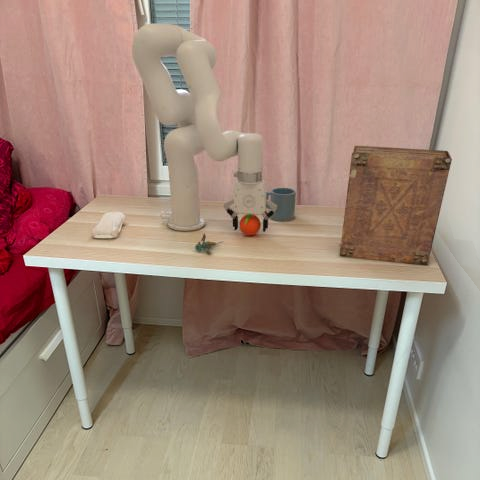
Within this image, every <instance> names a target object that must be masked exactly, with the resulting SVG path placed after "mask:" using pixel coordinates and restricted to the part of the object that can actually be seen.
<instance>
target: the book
mask: <svg viewBox="0 0 480 480" xmlns="http://www.w3.org/2000/svg"><path fill="white" fill-rule="evenodd" d="M452 161H453V159H452V156H451V154H450V152H449V151H448V150H440V149H439V150H437V149H425V148H424V149H422V148H408V147H407V148H406V147H391V146H390V147H388V146H387V147H386V146H373V145H371V146H370V145H354V147H353V151H352V152H351V157H350V165H349V175H348V183H347V190H346V200H345V207H344V216H343V225H342V233H341V240H340V241H341V242H340V249H339V256H340V257H345V258H346V257H347V258H354V259H363V260H365V259H366V260H375V261H382V262H383V261H384V262H392V263H393V262H394V263H403V264H411V265H422V266H428V265H429V261H430V256H431V252H432V247H433V243H434V238H435V234H436V230H437V226H438V225H437V224H438V221H439V217H440V213H441V208H442V203H443V200H444V196H445V191H446V186H447V182H448V178H449V173H450V168H451V166H452Z"/></svg>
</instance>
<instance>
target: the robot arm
mask: <svg viewBox="0 0 480 480" xmlns="http://www.w3.org/2000/svg"><path fill="white" fill-rule="evenodd" d="M131 55H132V59H133V63H134V65H135V67H136V70H137V72H138V75H139V76H140V78H141V81H142V82H143V86H144V88H145V91H146V95H147V96H148V98H149V101H150V105H151V106H152V109H153V112H154V114H155V116H156V118H157V121H159V123H160V124H161V125H164V126H173V125H177V128H174V129H172V130H170V131H169V132H168V133H167V134H166V136H165V138H164V141H163V149H164V154H165V159H166V162H167V169H168V180H169V191H170V192H169V193H170V207H171V210H170V211H160V214H159V215H160V217H161V219H162V220H168V221H167V226H168V228H169V229H171V230H175V231H180V232H191V231H196V230H199V229H201V228H203V227H204V226H205V219H203V218H202V217H201V212H200V211H201V210H200V209H201V208H200V192H199V191H200V188H199V187H200V186H199V171H198V166H197V163H196V160H195V156H198V155H200V154H202V153H204V152H206V154H207V155H208V157H209V158H210V159H211V160H213V161H215V162H224V161H226V160H228V159H231V158H234V157H237V171H234V172H233V177H234V178H235V177H236V178H237V179H236V180H235V184H234V191H233V198H232V199H230V200H228V201H226V202H224V204H223V207H224V209H225V211H226V214H228V215H229V216H230V217H231V219H232V228H234V229H233V230H234V231H237V230H238V229H239V215H247V214H254V215H256V216H257V215H259V216H260V215H261V216H262V217H263V220H262V232H264V233H265V232H266V231H267V229H268V228H269V219H271V218H270V217H271V216H272V215H273V214H274V212H275V210H276V209H277V205H276V204H274V203H272V202H271V200H269V199H268V200H267V199H266V191H267V188H266V187H267V186H266V181H265V180H264V179H263V177H264V176H263V172H264V138H263V136H262V135H261V133H260V134H259V133H256V132H255V133H254V132H252V133H251V132H248V133H247V132H246V133H245V132H240V131H237V130H226V131H224V132H223V131H222V128H221V126H220V123H219V119H218V105H219V102H220V99H221V96H222V90H221V88H220V85H219V83H218V81H217V78H216V76H215V74H214V71H213V69H214V68H215V66H216V64H217V59H218V57H217V55H218V54H217V51H216V48H215V47H214V45H213V44H212V43H211V42H210V41H208V40H207V39H205V38H204V37H201V36H199V35H197V34H195V33H193V32H192V31H190V30H187V29H185V28H184V27H182V26H180V25H177V24H173V23H154V22H153V23H147V24H144V25H143V26H141V27H140V28H139V29H137V31H136V33H135V34H134V36H133V39H132V45H131ZM166 57H167V58H168V57H173V58H175V59H176V62H177V65H178V67H179V70H180V72H181V75H182V77H183V79H184V81H185V84H186V86H187V89H188V91H187V90H185V89H177V88H176V86H175V84H174V82H173V78H172V76H171V74H170V72H169V70H168V68H167V67H166V66H165V64H164V63H163V62H162V58H166ZM232 205H233V209H232V208H231V206H232ZM266 205H268V206H269V207H271V208H272V209H271V211H270V210H269V211H267V208H266Z"/></svg>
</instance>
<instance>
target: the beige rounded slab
mask: <svg viewBox="0 0 480 480" xmlns="http://www.w3.org/2000/svg"><path fill="white" fill-rule="evenodd" d="M125 225H127V217H126V215H125V214H124V213H123V212H120V211H119V212H118V211H111V212H110V211H109V212H105V213H104V214H103V215H102V216H101V217H100V219H99V220H98V222H97V224H96V226H95V227H92V229H91V230H92V231H91V234H92V238H94V239H116V238H118V237H119V234H120V232H121V229H122V227H123V226H125Z"/></svg>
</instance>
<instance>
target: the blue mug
mask: <svg viewBox="0 0 480 480" xmlns="http://www.w3.org/2000/svg"><path fill="white" fill-rule="evenodd" d="M296 194H297V191H296V190H295V189H293V188H290V187H275V188H272V189H271V190H270V191H268V190H266V199H267V200H269V196H270V201H271V202H272V203H274V204H276V205H277V209H276V210H275V212H274V214H273V215H272V216H271V217H270V218H269V219H272V220H273V221H277V222H290V221H292V220H294V219H295V213H296V211H295V210H296V198H297V197H296V196H297V195H296ZM271 209H272V208H271V207H269V206H268V205H266V210H269V212H270V211H271Z"/></svg>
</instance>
